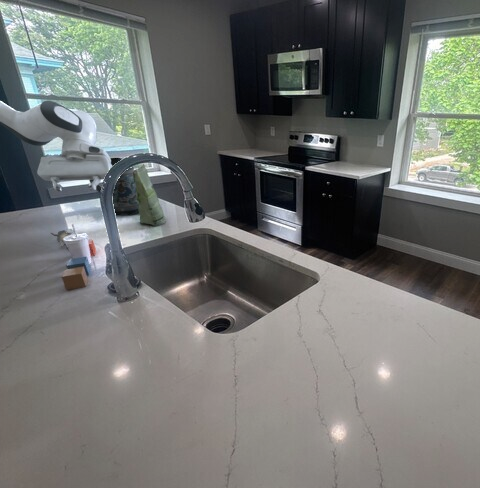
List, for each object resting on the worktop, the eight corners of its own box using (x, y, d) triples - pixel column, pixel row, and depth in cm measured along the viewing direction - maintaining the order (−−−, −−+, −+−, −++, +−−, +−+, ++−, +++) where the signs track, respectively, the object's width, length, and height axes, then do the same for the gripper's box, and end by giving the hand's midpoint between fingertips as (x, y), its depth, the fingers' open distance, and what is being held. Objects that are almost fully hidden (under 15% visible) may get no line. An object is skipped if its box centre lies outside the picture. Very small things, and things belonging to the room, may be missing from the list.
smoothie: (87, 268, 96) (73, 228, 90) (67, 267, 96) (52, 227, 90) (100, 259, 102) (88, 221, 96) (82, 258, 102) (68, 220, 96)
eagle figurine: (46, 243, 108) (52, 246, 103) (53, 224, 109) (59, 226, 104) (72, 248, 114) (79, 251, 109) (78, 230, 115) (86, 232, 110)
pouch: (148, 229, 126) (134, 170, 115) (132, 223, 132) (118, 166, 121) (172, 222, 135) (161, 166, 124) (157, 216, 140) (145, 162, 129)
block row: (66, 290, 85) (61, 277, 83) (80, 252, 106) (76, 241, 104) (86, 286, 87) (81, 273, 85) (96, 250, 108) (92, 239, 106)
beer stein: (156, 208, 150) (145, 157, 139) (118, 220, 134) (103, 164, 123) (134, 203, 156) (122, 154, 145) (95, 214, 140) (78, 159, 129)
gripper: (35, 148, 96) (29, 185, 92) (108, 148, 102) (106, 184, 97) (47, 160, 102) (42, 195, 97) (116, 159, 107) (114, 193, 103)
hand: (75, 189), depth 98 cm, fingers open, 8 cm apart
